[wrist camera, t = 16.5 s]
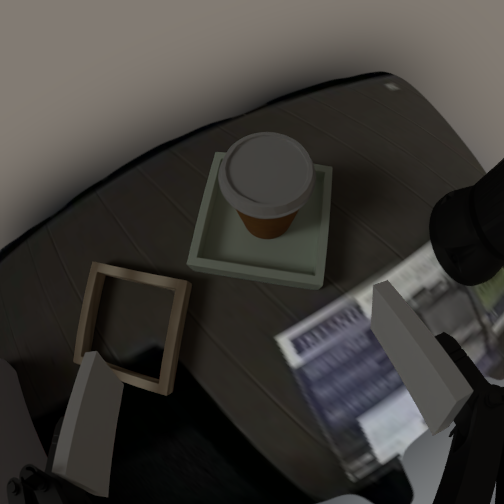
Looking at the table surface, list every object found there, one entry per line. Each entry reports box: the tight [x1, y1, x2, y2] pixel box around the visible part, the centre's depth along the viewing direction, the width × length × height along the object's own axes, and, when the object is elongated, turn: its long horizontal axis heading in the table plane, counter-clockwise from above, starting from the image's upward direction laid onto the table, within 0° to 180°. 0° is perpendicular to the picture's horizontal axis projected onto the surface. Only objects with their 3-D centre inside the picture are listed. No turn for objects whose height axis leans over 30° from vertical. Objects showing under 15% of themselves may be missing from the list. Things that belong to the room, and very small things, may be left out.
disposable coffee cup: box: [218, 132, 316, 239], centre depth 32 cm, size 10×10×12 cm
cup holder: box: [73, 262, 192, 396], centre depth 34 cm, size 14×14×2 cm
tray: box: [187, 152, 333, 290], centre depth 37 cm, size 16×16×4 cm
